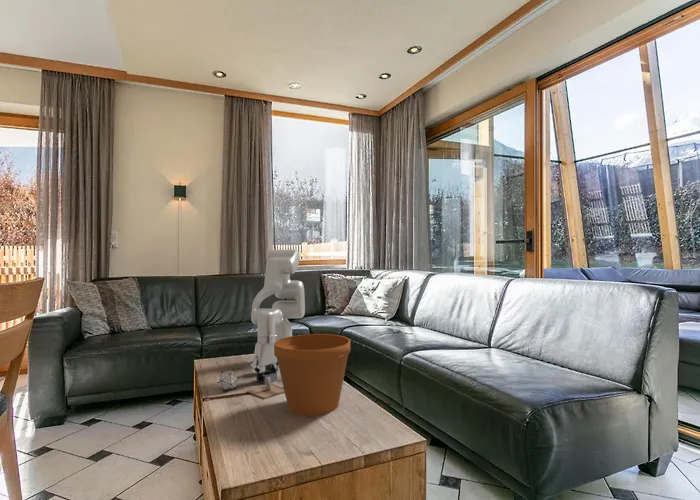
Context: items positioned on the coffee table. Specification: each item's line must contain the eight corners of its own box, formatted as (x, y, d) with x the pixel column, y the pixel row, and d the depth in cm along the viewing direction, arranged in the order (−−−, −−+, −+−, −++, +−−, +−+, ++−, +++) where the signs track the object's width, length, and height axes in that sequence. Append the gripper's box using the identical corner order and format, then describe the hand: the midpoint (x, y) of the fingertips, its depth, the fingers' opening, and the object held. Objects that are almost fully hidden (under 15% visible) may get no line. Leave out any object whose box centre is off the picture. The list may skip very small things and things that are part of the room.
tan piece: (271, 385, 169) (271, 371, 169) (288, 391, 160) (288, 377, 161) (247, 392, 160) (246, 378, 160) (264, 399, 152) (264, 384, 152)
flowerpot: (268, 398, 152) (268, 337, 153) (336, 388, 162) (335, 331, 163) (283, 427, 126) (282, 353, 127) (363, 413, 136) (362, 345, 137)
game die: (223, 399, 163) (208, 380, 163) (237, 386, 170) (223, 368, 170) (234, 392, 158) (219, 373, 158) (248, 379, 165) (233, 360, 165)
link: (268, 378, 179) (268, 370, 179) (277, 380, 174) (276, 372, 174) (256, 381, 174) (256, 373, 174) (265, 384, 170) (264, 376, 170)
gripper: (276, 335, 183) (277, 373, 183) (244, 341, 171) (245, 382, 170) (286, 337, 178) (287, 376, 178) (254, 343, 166) (255, 386, 165)
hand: (266, 379), depth 174 cm, fingers closed on link, 6 cm apart
